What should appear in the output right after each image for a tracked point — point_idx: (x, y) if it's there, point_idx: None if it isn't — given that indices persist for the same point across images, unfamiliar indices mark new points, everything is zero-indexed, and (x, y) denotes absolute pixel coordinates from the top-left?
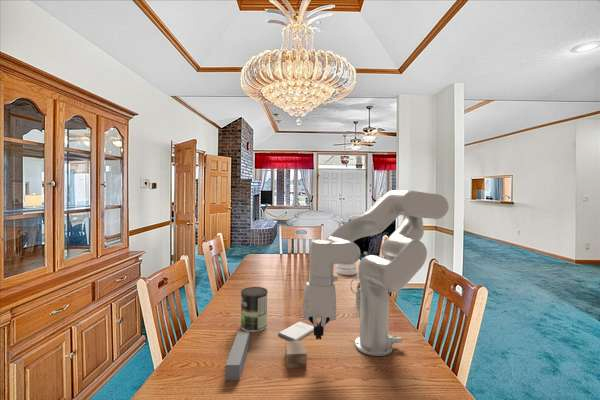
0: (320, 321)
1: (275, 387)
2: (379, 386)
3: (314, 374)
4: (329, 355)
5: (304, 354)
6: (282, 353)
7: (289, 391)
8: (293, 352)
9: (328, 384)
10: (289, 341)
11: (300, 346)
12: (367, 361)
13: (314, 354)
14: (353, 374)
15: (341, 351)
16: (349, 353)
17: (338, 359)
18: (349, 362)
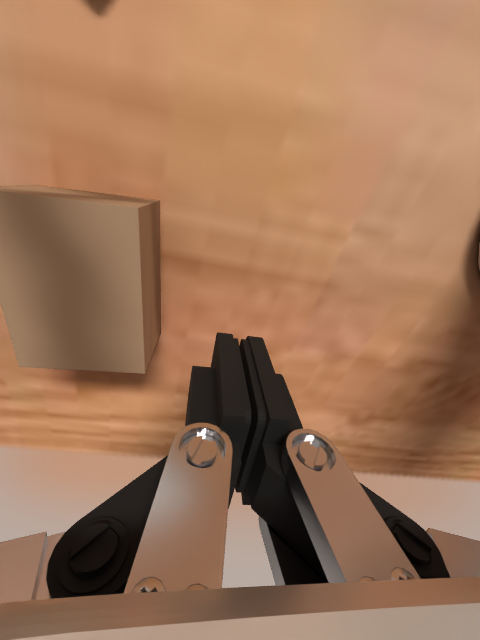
0: (280, 479)
1: (32, 423)
2: (377, 450)
3: (188, 379)
4: (303, 255)
5: (133, 370)
6: (14, 174)
7: (87, 442)
8: (60, 353)
9: None
10: (6, 199)
11: (107, 293)
12: (443, 333)
13: (223, 229)
14: (335, 396)
15: (385, 227)
16: (413, 256)
17: (330, 298)
18: (365, 328)
